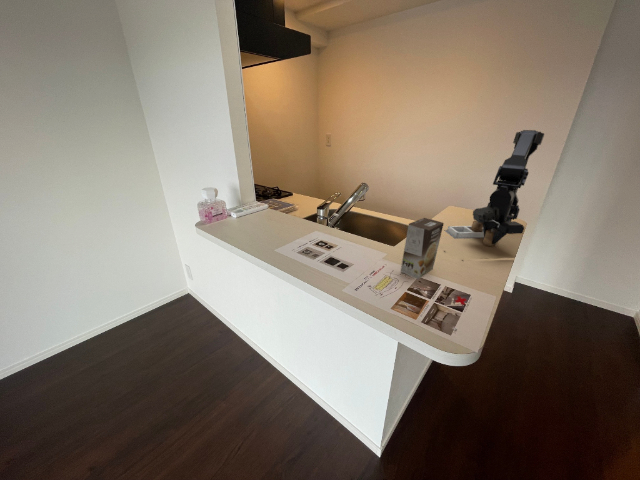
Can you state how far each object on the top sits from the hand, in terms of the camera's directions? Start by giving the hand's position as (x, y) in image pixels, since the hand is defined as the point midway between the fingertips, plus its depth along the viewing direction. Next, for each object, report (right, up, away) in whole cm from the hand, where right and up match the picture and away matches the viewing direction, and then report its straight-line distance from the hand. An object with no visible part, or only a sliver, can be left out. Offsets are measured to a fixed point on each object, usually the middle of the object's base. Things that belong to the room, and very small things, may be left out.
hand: (489, 241), depth 96 cm
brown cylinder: (0, -1, 0) cm, 1 cm away
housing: (-3, +2, +10) cm, 10 cm away
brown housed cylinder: (+1, +3, +10) cm, 10 cm away
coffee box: (-33, -9, -15) cm, 37 cm away
